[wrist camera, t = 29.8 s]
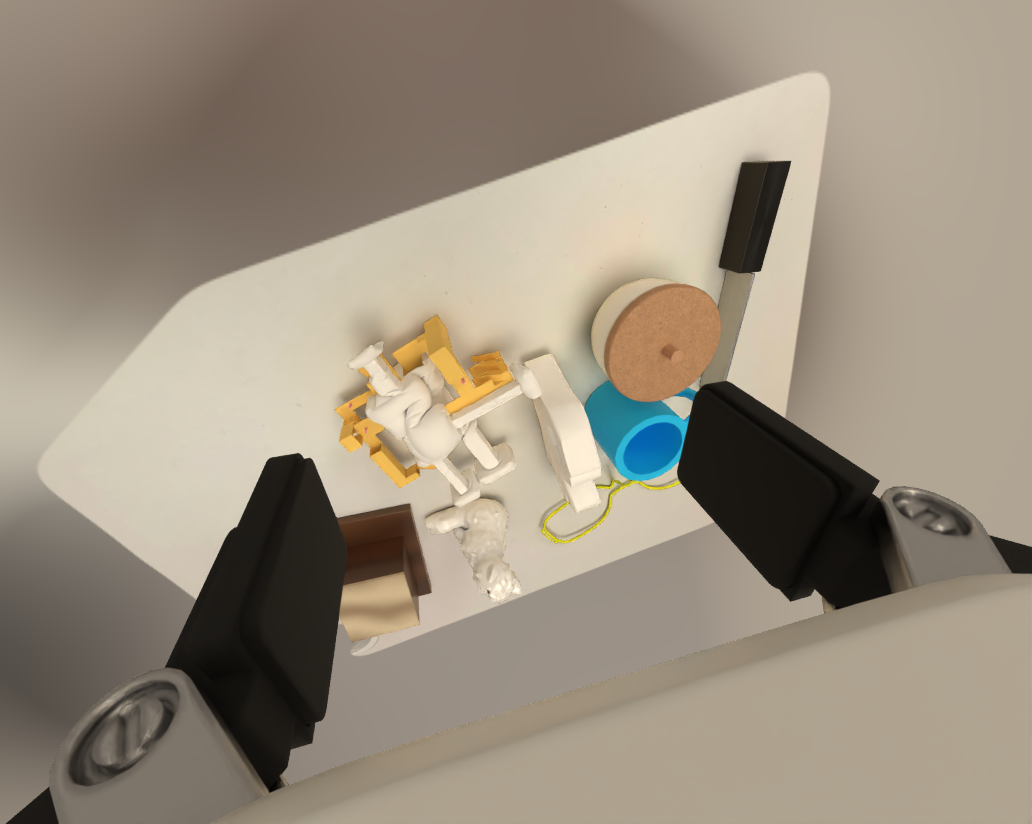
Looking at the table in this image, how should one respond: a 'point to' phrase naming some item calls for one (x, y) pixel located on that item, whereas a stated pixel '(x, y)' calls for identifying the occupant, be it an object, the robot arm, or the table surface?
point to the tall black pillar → (745, 252)
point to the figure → (434, 409)
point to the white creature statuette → (481, 544)
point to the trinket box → (655, 337)
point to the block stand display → (382, 573)
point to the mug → (637, 432)
